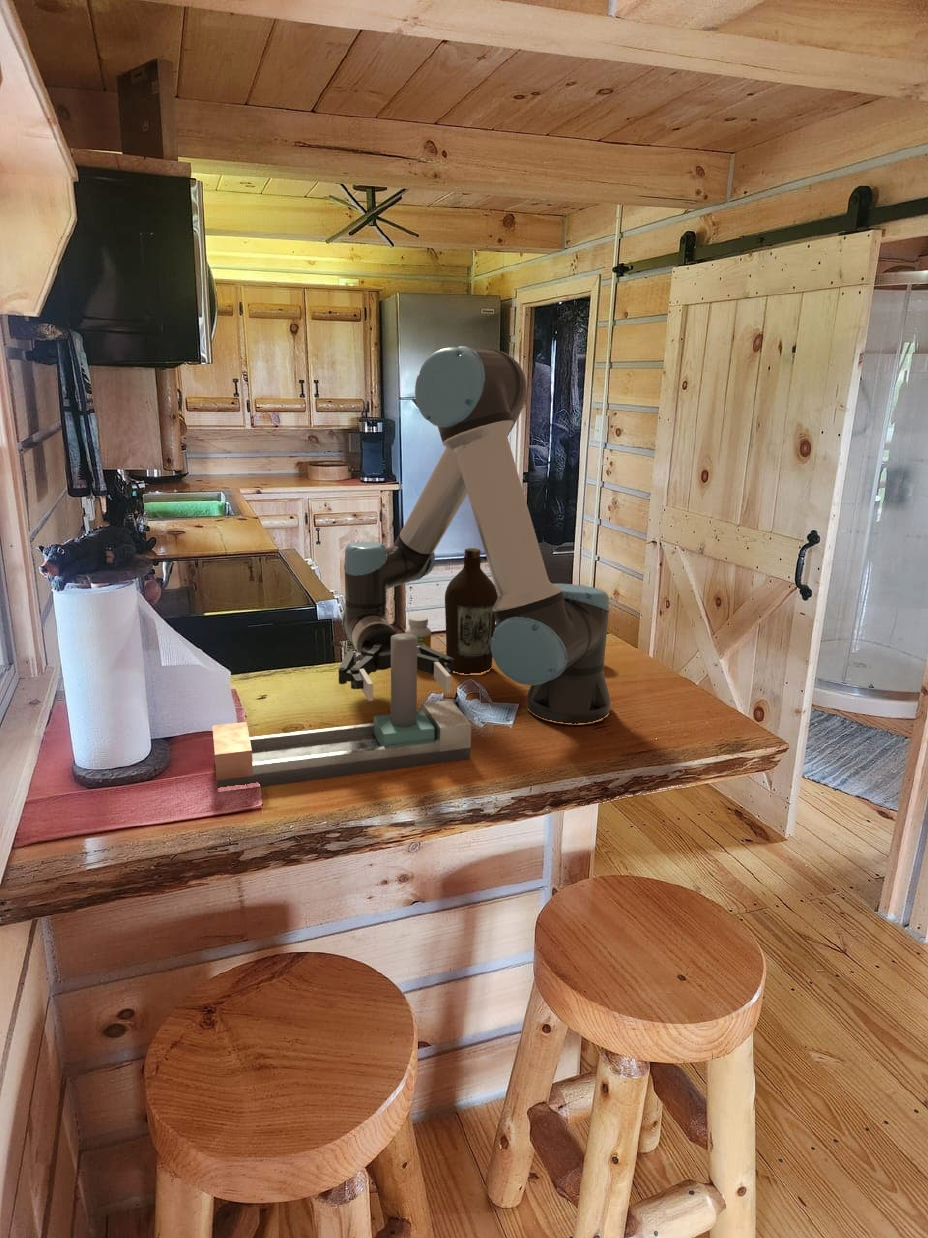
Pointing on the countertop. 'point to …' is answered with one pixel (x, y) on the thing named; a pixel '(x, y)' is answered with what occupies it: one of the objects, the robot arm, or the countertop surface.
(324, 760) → the rail track
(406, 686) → the carriage
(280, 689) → the countertop surface
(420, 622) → the supplement bottle
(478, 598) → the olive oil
